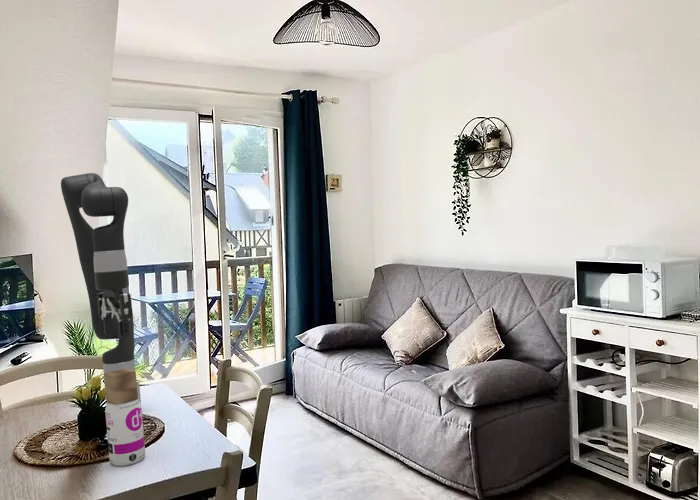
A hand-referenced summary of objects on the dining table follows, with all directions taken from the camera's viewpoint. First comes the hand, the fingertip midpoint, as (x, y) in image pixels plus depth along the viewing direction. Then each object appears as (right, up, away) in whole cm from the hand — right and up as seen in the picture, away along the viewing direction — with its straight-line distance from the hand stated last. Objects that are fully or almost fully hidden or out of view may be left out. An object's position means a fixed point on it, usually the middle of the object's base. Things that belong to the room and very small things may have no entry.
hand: (116, 335), depth 146 cm
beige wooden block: (+1, -16, 0) cm, 16 cm away
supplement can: (+2, -31, +1) cm, 31 cm away
